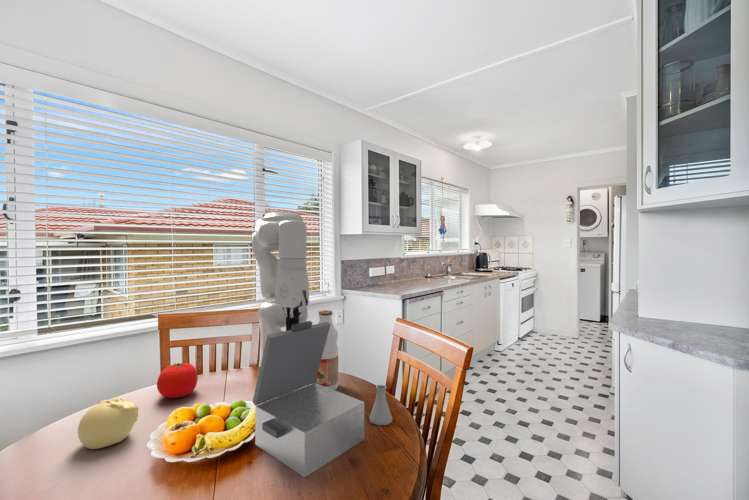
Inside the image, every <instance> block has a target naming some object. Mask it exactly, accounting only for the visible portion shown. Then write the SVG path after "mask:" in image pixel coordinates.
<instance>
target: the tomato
mask: <svg viewBox="0 0 749 500" xmlns="http://www.w3.org/2000/svg"><path fill="white" fill-rule="evenodd" d="M198 376H199V375H198V371H197V369H196V368H195V366H194V365H193V364H191V363H188V362H186V361H185V362H180V363H179V362H178V363H172V364H170V365H168V366H166V367H165V368H164V369H163V370H162V371H160V374H159V375H158V378H157V382H156V387H157V391H158V393H159V395H161V396H162V397H164V398H170V399H175V398H176V399H177V398H178V399H179V398H182V397H185V396H188V395H190V394H191V393H192V392H194V390H195V389H196V387H197V384H198Z"/></svg>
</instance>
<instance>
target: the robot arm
mask: <svg viewBox="0 0 749 500" xmlns="http://www.w3.org/2000/svg"><path fill="white" fill-rule="evenodd" d="M254 230H255V231H254V232H253V233H252V236H251V248H252V253H253V255H254V258H255V261H256V262H257V265H258V268H259V269H258V270H259V281H260V282H259V283H260V292H261V296H262V297H263V299H265V300H269V301H266V302H263V303H262V304H261V305H260V306H259V307H258V311H257V314H258V323H259V331H260V363H261V362H262V357H263V353H264V348H265V344H266V339H267V335H269V334H274V333H278V332H283V331H284V330H282V328H285V331H287V330H291V327H292V324H296V323H301V322H306V321H308V318H309V311H308V306H309V302H310V286H309V275H308V270H307V238H308V237H307V236H308V233H307V232H308V231H307V224H306V222H304V219H303V217H302V215H301V214H300V213H298V212H290V211H289V212H288V211H286V212H284V211H272V212H268V213H267V214H265V215H264V216H263V217H260V218H259V219H258V220H257V222H256V224H255V229H254ZM272 252H278V256H276V255H275V254H273V253H272ZM270 300H271V301H270ZM258 375H259V373H258V374H257V376H258Z"/></svg>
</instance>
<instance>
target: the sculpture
mask: <svg viewBox="0 0 749 500" xmlns="http://www.w3.org/2000/svg"><path fill="white" fill-rule="evenodd" d="M138 412H139V407H138V405H137V404H135V403H132V402H130V401H128V400H125V399H123V398H121V397H118V396H117V397H114V398H110V399H103V400H99V402H98V403H97V404H96V405H94V406H93V407H91V408H89V410H87V411H86V412H85V414H84V415H83V416H82V418H81V419H80V421H79V424H78V427H77V436H78V437H77V438H78V440H79V442H80V443H81V444H82V445H83V446H84V447H85V448H86V449H90V450H97V449H103V448H105V447H106V448H107V447H109V446H112V445H114V444H118V443H120V442H122V441H123V440H125V439H126V438H127V437H128V435H129V434H130V433H131V432H132V429H133V427H134V425H135V424H136V422H138V417H139V413H138Z"/></svg>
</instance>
